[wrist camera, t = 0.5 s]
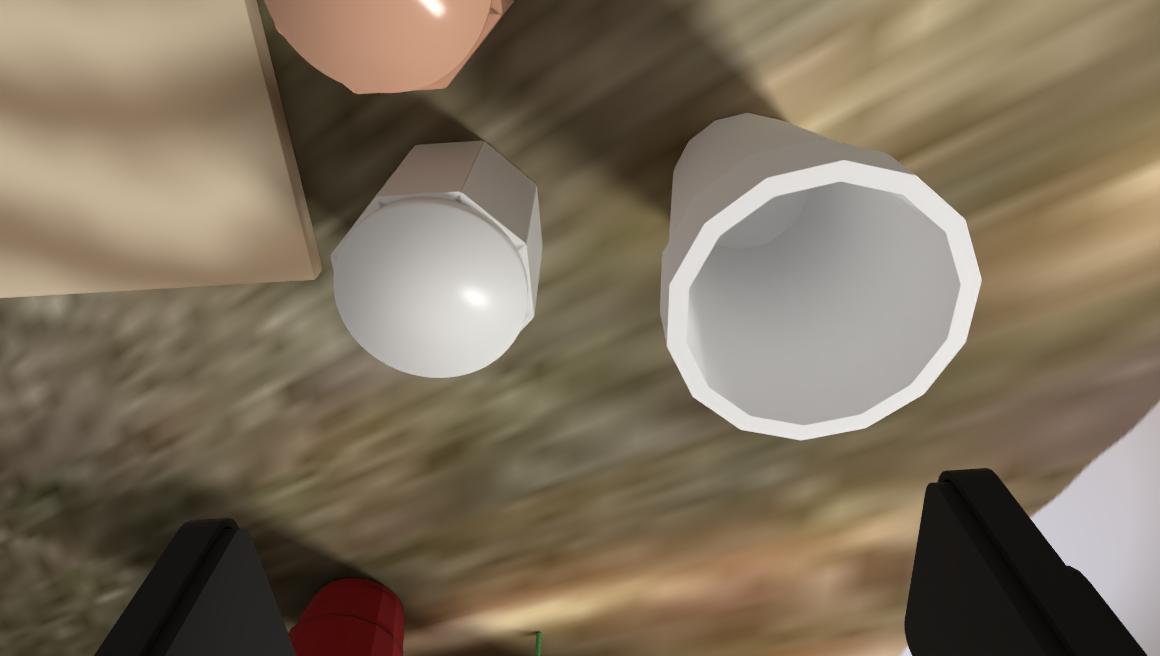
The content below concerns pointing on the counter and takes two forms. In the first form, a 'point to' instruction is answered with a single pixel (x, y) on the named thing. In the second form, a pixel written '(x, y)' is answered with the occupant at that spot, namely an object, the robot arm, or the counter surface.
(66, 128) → the oak board
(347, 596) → the plastic cup
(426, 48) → the pink acorn nut
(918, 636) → the robot arm
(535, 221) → the white domed cap nut
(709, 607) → the counter surface
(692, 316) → the foam cup
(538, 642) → the lily
